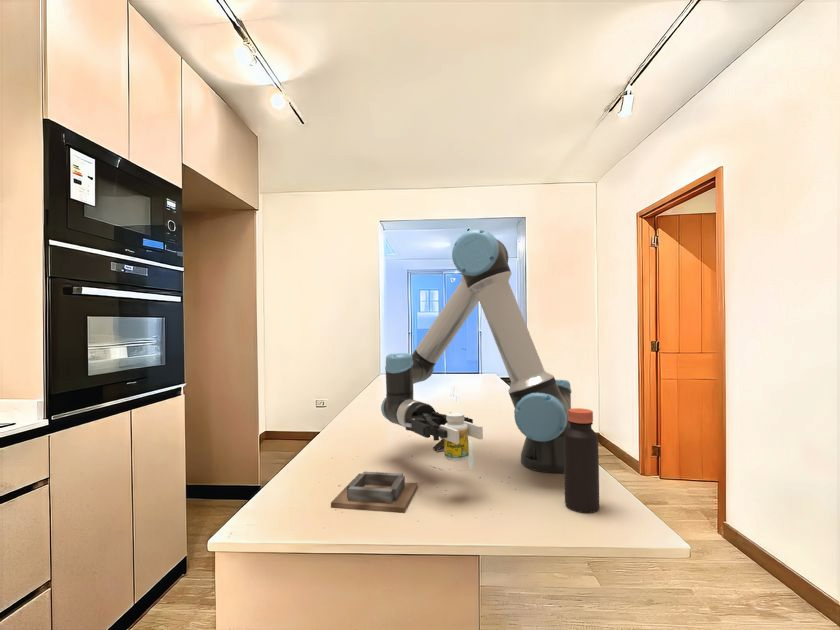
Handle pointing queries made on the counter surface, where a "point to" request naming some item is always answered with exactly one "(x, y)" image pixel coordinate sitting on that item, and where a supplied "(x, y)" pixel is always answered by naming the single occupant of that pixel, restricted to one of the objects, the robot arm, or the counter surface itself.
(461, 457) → the supplement bottle
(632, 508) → the counter surface
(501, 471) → the counter surface
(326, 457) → the counter surface
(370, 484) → the collar board
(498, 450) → the counter surface
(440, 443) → the knife
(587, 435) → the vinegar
